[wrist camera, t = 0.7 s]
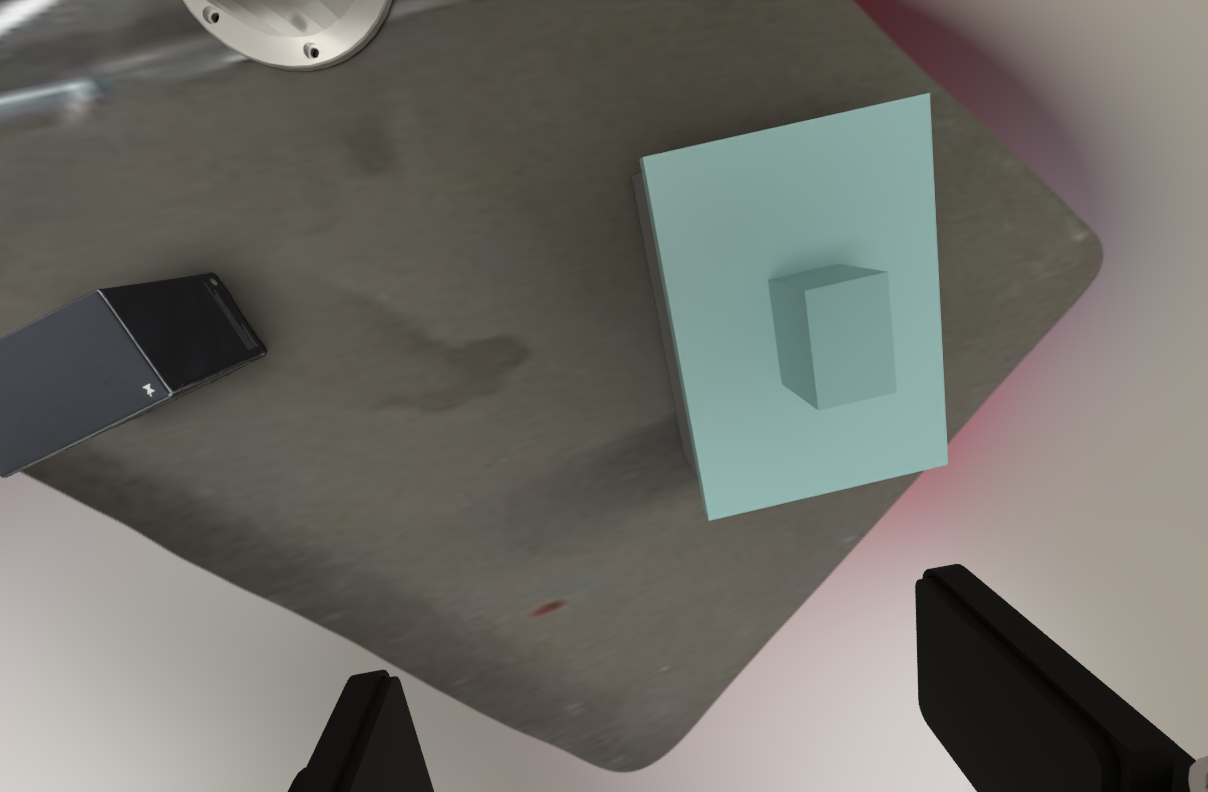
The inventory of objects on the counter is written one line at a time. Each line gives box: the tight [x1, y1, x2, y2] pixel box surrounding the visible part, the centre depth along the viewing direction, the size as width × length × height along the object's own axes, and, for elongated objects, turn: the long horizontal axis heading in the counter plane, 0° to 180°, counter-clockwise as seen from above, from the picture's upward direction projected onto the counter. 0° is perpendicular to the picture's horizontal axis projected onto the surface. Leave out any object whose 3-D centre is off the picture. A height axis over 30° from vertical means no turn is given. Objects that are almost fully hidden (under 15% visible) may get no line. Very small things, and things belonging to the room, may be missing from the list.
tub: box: [632, 172, 699, 481], centre depth 39 cm, size 20×14×8 cm
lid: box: [639, 93, 948, 521], centre depth 32 cm, size 21×15×6 cm
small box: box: [0, 273, 265, 478], centre depth 35 cm, size 11×6×10 cm, turn 115°
